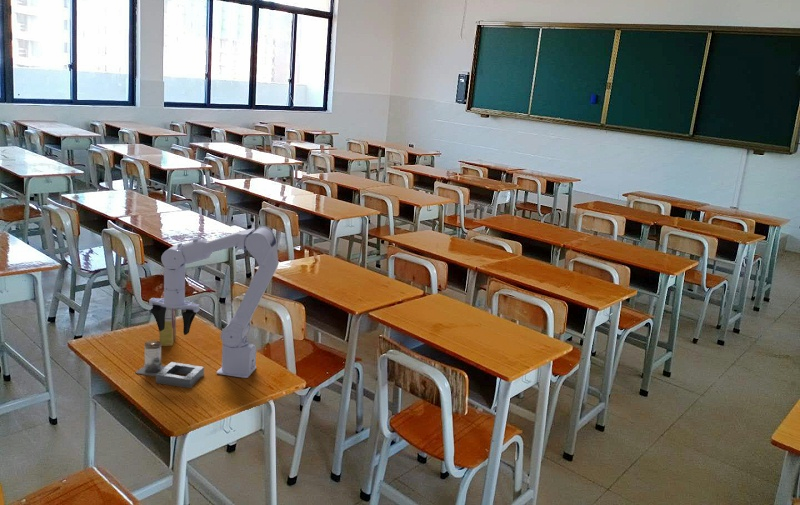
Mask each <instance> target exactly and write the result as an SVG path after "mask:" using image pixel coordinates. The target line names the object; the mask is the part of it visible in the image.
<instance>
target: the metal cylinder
mask: <svg viewBox="0 0 800 505" xmlns="http://www.w3.org/2000/svg"><path fill="white" fill-rule="evenodd" d="M161 365H162V346H161V342H160V340H149V341H146V342H145V343H144V366H145V371H146V372H149V373H155V372H159V371H160V370H161Z"/></svg>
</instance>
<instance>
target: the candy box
mask: <svg viewBox="0 0 800 505" xmlns="http://www.w3.org/2000/svg"><path fill="white" fill-rule="evenodd" d="M160 298H164V291H163V292H162V294H161V296H160ZM158 331H159V330H158ZM176 337H177V309H173V308H166V312H165V328H164V330H162V331H159V342H161V347H172V346H173V345H174V342H175V340H176Z"/></svg>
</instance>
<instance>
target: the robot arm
mask: <svg viewBox="0 0 800 505" xmlns="http://www.w3.org/2000/svg"><path fill="white" fill-rule="evenodd" d="M234 247H235V248H236V247H237V248H239V249H241V250H243V251H245V250H247V251H248V253H249V254H251V256H252V257H253V258H254V259H255V261H256V264H257V265H258V268H257V270H256V272H255V274H254V276H253V278H252V281H251V282H250V284H249V286H248V288H247V290H246V291H245V294H244V296H243V298H242V299H241V302H240V304H239V306H238V308H237V309H236V312H235V314H234V315H233V317H232V318H231V319H230V320H229V322H228V324H227V325H226V326H225V327H224V328H223V329H222V330H221V333H220V340H221V342H222V345H221V346H222V347H221V350H222V352H221V367H220V368H219V369H217V371H216V374H217V375H223V376H229V377H237V378H243V379H247V378H249V377H250V376H251V374H253V373H254V371H256V369H257V347H256V345H255V344H252V343H249V339H248V336H247V334H248V333H249V331H250V330H251V321H252V319H253V315H254V313H255V312H256V310H257V307H258V306H259V304H260V302H261V300H262V298H263V296H264V294H265V292H266V290H267V288H268V286H269V285H270V282H271V281H272V279H273V277H274V275H275V273H276V270H277V269H278V267H279V255H278V254H279V253H278V239H277V237H276V235H275V233H274V232H273V230H272V229H270V228H269V227H268V226H259V227H257V228H255V227H254V228H249V229H244V230H241V231H240V230H239V231H236V232H233V233H231V234H228V235H225V236H221V237H219V238H215V239H212V240H207V239H205V238H200V239H199V237H195V238H193V239H192V241H190V242H187V243H182V242H180V243H178V244H177V245H172V246H171V247H169V248H168V249H166V250H165V251H164V252H162V255H161V257H160V258H161V259H160V260H161V263H162V265H163V266H164V269H163V270H164V272H163V274H164V275H163V292H164V298H161V297H160V298H159V297H156V298H155V297H151V298H150V299H149V300H148V306H149V307H152V308H150V312H151V314H152V316H153V318H154V319H155V321H156V325H157V327H158V328H157V329H158V331H162V330H164V328H165V312H166V308H173V309H176V310H182V311H184V312H182V313H181V317H182V321H183V331H182V332H183V335H184V336H187V335H188V334H189V333H190V330H191V326H192V323H193V321H194V319H195V316H196V315H197V313H198V312H199V311H200V308H201V307H200V305H201V304H198V303H194V302H191V301H189V300H186V294H185V293H186V265H189V264H192V263H196V262H198V261H203V260H206V259H209V258H210V257H211V254H212V253H214V252H215V253H216V252H219V251H223V250H226V249H227V250H228V249H231V248H234Z"/></svg>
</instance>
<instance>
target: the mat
mask: <svg viewBox="0 0 800 505" xmlns="http://www.w3.org/2000/svg"><path fill="white" fill-rule="evenodd" d="M166 366H167V365H164V364H161V370H162V369H163V368H164V367H166ZM161 370H160V371H161ZM160 371H159V372H160ZM157 373H158V372H155V373H149V372H146V371H145V365H143V366H142V367H141V368H139V369H138V370H137V371H135V374H136V375H142V376H149V377H155V378H156V374H157Z"/></svg>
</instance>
